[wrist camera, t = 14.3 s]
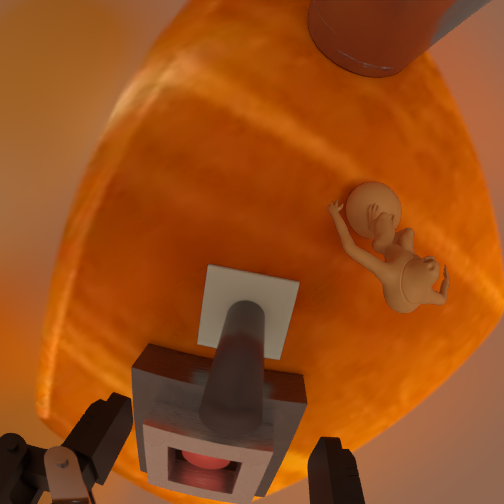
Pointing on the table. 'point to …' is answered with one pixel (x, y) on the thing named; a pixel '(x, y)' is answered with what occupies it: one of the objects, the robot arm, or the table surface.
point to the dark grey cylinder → (237, 374)
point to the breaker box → (199, 436)
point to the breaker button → (205, 461)
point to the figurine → (389, 248)
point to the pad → (251, 289)
